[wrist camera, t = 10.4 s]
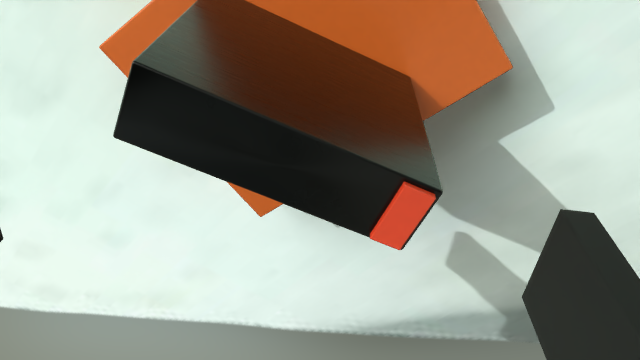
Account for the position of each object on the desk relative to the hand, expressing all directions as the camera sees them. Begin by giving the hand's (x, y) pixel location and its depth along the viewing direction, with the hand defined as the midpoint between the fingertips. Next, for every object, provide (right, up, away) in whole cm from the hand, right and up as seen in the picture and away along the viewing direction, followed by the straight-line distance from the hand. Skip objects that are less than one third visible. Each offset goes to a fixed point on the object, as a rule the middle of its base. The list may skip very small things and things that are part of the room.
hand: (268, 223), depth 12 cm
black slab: (+1, +6, +10) cm, 12 cm away
